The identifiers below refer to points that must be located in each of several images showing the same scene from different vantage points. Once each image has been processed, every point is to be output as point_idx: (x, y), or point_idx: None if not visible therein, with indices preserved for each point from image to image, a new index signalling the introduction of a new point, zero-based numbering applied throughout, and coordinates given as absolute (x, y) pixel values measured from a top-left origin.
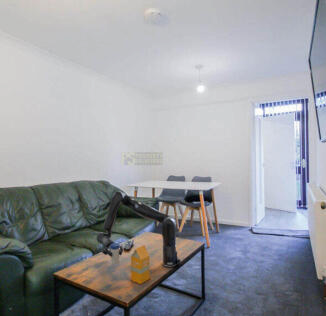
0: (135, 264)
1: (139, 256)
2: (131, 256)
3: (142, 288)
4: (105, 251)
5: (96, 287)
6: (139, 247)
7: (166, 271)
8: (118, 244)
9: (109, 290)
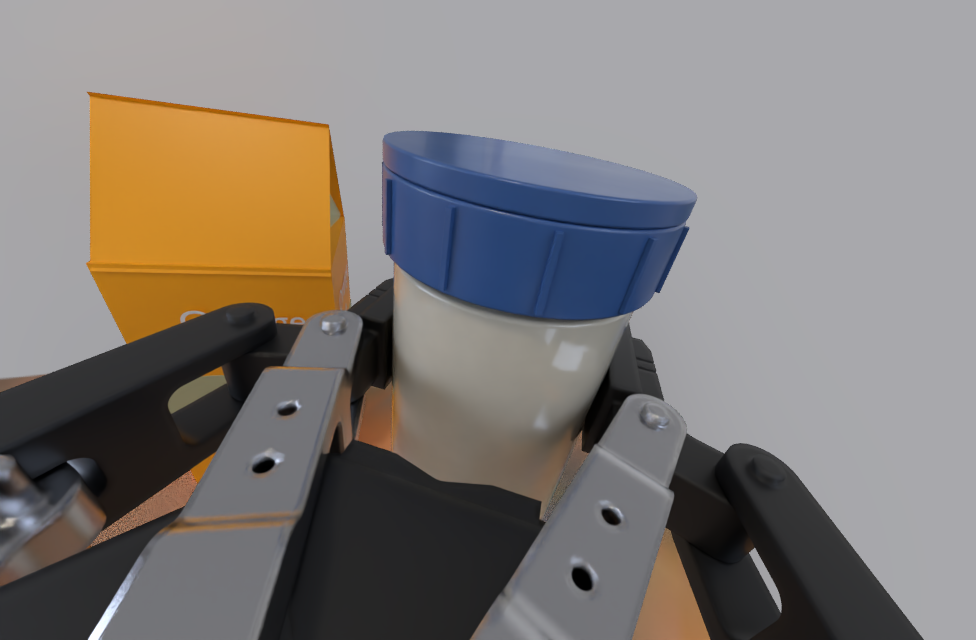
0: (343, 304)
1: (335, 196)
2: (327, 267)
3: None
4: (765, 465)
5: (676, 572)
6: (238, 114)
7: (7, 381)
8: (444, 137)
9: (578, 457)
